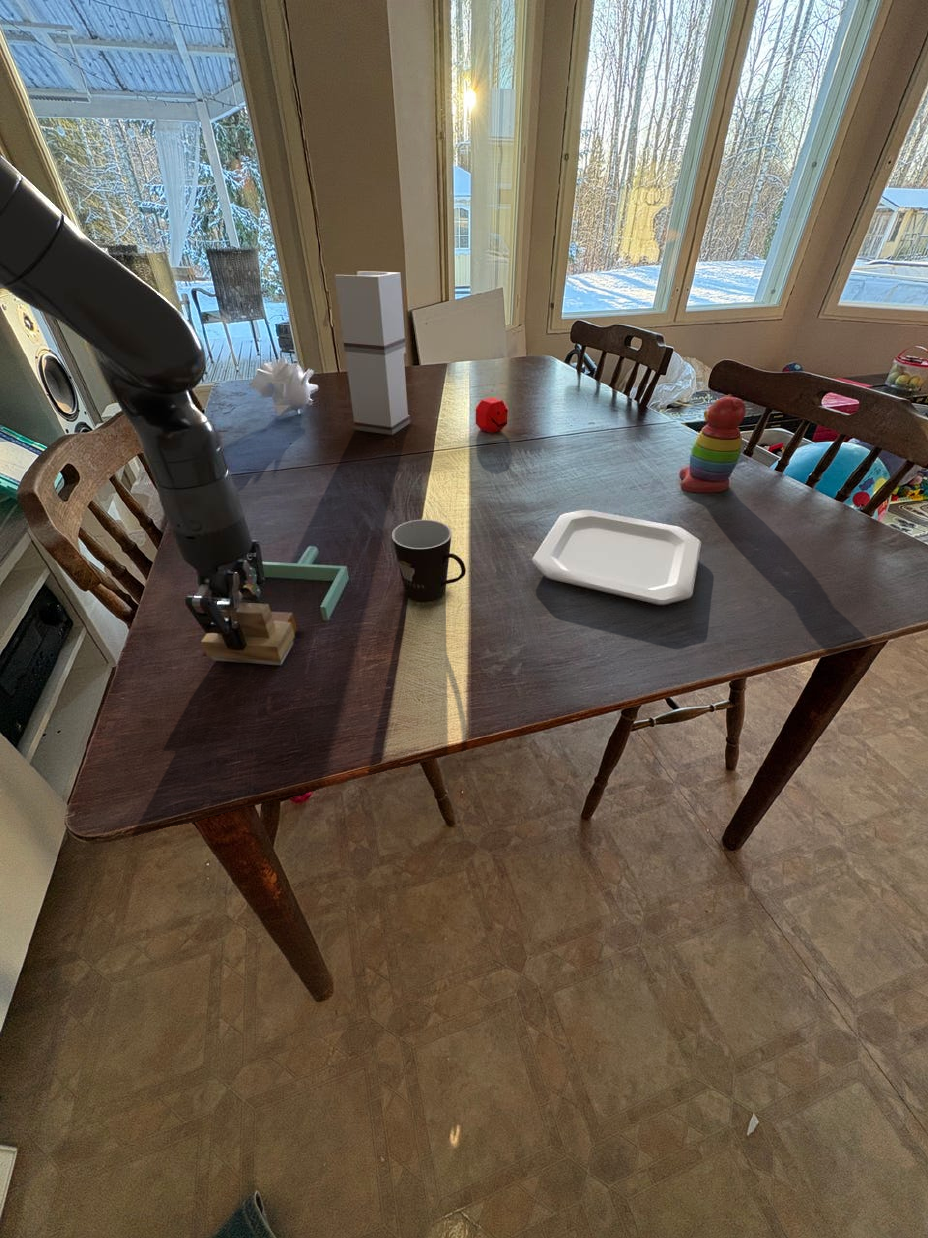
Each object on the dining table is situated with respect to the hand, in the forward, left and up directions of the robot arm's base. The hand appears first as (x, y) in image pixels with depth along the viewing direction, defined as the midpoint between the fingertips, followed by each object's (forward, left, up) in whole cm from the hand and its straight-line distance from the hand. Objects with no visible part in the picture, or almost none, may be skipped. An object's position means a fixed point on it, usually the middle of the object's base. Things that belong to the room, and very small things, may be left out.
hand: (247, 633), depth 66 cm
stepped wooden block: (0, 0, -3) cm, 3 cm away
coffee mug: (+20, -17, -4) cm, 27 cm away
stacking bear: (+78, -57, -4) cm, 97 cm away
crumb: (+4, -1, -4) cm, 6 cm away
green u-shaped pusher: (+16, +4, -4) cm, 17 cm away
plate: (+40, -43, -4) cm, 59 cm away
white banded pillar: (+89, +26, -4) cm, 93 cm away
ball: (+96, -3, -4) cm, 96 cm away
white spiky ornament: (+91, +58, -4) cm, 108 cm away
